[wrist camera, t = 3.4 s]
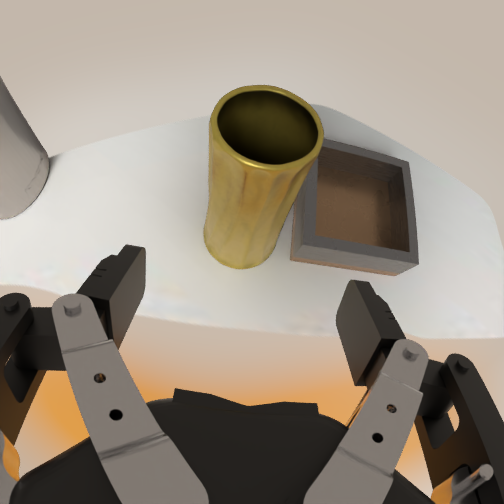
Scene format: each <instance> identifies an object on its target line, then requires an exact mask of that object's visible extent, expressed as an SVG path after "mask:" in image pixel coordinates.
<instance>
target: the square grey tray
mask: <svg viewBox="0 0 504 504" xmlns="http://www.w3.org/2000/svg"><path fill="white" fill-rule="evenodd" d="M290 260H291V261H298V262H304V263H311V264H317V265H324V266H331V267H337V268H344V269H351V270H357V271H364V272H370V273H377V274H384V275H390V276H396V275H398V274H400V273H402V272H404V271H406V270H409V269H411V268H413V267H415V266H417V265H419V259H418V241H417V228H416V217H415V207H414V198H413V190H412V182H411V175H410V168H409V162H407V161H404V160H401V159H397V158H394V157H391V156H387V155H384V154H381V153H377V152H374V151H370V150H366V149H363V148H359V147H355V146H351V145H348V144H344V143H340V142H336V141H331V140H327V139H323V143H322V147H321V149H320V152H319V154H318V157H317V158H316V160H315V162H314V163H313V165H312V167H311V169H310V171H309V172H308V174H307V176H306V178H305V180H304V182H303V184H302V186H301V188H300V190H299V192H298V194H297V196H296V198H295V203H294V217H293V230H292V243H291V255H290Z"/></svg>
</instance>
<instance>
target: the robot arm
mask: <svg viewBox="0 0 504 504" xmlns="http://www.w3.org/2000/svg"><path fill="white" fill-rule="evenodd" d="M48 171H49V158H48V155H47V152H46V151H45V149H44V148H43V146H42V145H41V143H40V142H39V140H38V139H37V137H36V136H35V134H34V132H33V131H32V129H31V127H30V126H29V124H28V123H27V121H26V119H25V118H24V116H23V114H22V113H21V111H20V110H19V108H18V106H17V104H16V103H15V101H14V99H13V98H12V96H11V95H10V93H9V91H8V89H7V87H6V86H5V84H4V82H3V80H2V78H1V77H0V219H1V220H3V219H9V218H12V217H15V216H16V215H18V214H20V213H21V212H23V211H24V210H25V209H26V208H27V207H29V206H30V205H31V204H32V202H33V201H34V200H35V199H36V198H37V196H38V195H39V193H40V192H41V190H42V188H43V186H44V184H45V182H46V179H47V175H48ZM145 275H146V251H145V248H144V247H139V246H133V245H125V246H124V247H123V249H122V250H121V251H120V253H119V254H118V255H117V256H116V255H110V256H108V257H107V258H105V259H103V260H101V262H100V263H99V264H98V265H97V267H96V269H94V271H93V272H92V273H91V275H90V276H89V277H88V278H87V280H86V281H85V282H84V283H83V285H82V286H81V287H80V289H79V290H78V291H77V293H76V294H68V295H64V296H62V297H60V298H58V299H57V300H56V301H55V302H54V303H53V306H52V307H45V308H44V307H31V303H30V300H29V298H28V297H27V296H26V295H24V294H21V293H10V294H7V295H4V296H3V297H1V298H0V504H504V422H503V420H502V418H501V416H500V414H499V412H498V410H497V408H496V406H495V404H494V402H493V400H492V398H491V396H490V394H489V392H488V390H487V388H486V386H485V384H484V382H483V380H482V379H481V377H480V375H479V373H478V371H477V369H476V368H475V366H474V364H473V363H472V362H471V361H470V360H469V359H468V358H466V357H465V356H463V355H460V354H451V355H449V356H448V357H447V359H446V360H445V362H444V363H441V362H438V361H434V360H430V359H428V354H427V352H426V351H425V349H424V348H423V347H422V346H421V345H419V344H418V343H416V342H414V341H412V340H408V339H406V337H405V335H404V333H403V332H402V330H401V328H400V326H399V324H398V322H397V320H395V317H394V315H393V313H391V312H392V311H391V310H390V308H389V306H388V304H387V303H386V302H385V301H384V300H383V299H382V298H381V297H380V296H379V295H376V293H375V292H374V290H373V288H372V286H371V284H370V283H369V282H365V281H358V280H350V281H349V283H348V285H347V287H346V290H345V293H344V295H343V298H342V301H341V303H340V306H339V308H338V311H337V315H336V326H337V329H338V333H339V336H340V339H341V342H342V345H343V348H344V352H345V355H346V358H347V361H348V364H349V368H350V371H351V375H352V378H353V381H354V385H355V386H367V391H366V393H365V394H364V396H363V397H362V399H361V401H360V403H359V404H358V406H357V407H356V409H355V411H354V412H353V414H352V416H351V417H350V419H349V420H348V422H347V424H346V425H343V424H342V423H340V422H339V421H337V420H335V419H333V418H330V417H328V416H325V415H322V414H319V412H318V406H317V403H297V402H279V403H271V404H263V405H256V406H246V405H242V404H239V403H236V402H233V401H230V400H227V399H224V398H221V397H218V396H215V395H212V394H207V393H200V392H194V391H188V390H182V389H176V388H175V391H174V396H173V398H167V399H159V400H155V401H150V402H148V403H145V401H144V399H143V398H142V396H141V394H140V392H139V390H138V388H137V387H136V385H135V383H134V381H133V379H132V377H131V375H130V373H129V371H128V369H127V367H126V365H125V363H124V361H123V360H122V357H121V355H120V353H119V351H118V350H119V347H120V345H121V343H122V341H123V339H124V336H125V334H126V332H127V330H128V328H129V325H130V323H131V321H132V319H133V317H134V315H135V313H136V310H137V308H138V306H139V304H140V302H141V300H142V298H143V295H144V291H145ZM10 356H11V357H10ZM9 357H10V358H9ZM8 359H9V360H8ZM7 361H8V362H7ZM6 362H7V363H6ZM5 364H6V365H5ZM47 370H56V371H67V374H68V377H69V380H70V383H71V386H72V389H73V392H74V395H75V398H76V401H77V404H78V407H79V410H80V412H81V415H82V418H83V420H84V423H85V425H86V428H87V430H88V433H89V435H90V436H89V437H88V438H86V439H85V440H83V441H82V442H80V443H78V444H76V445H75V446H73V447H71V448H69V449H68V450H66V451H64V452H63V453H61V454H59V455H58V456H56V457H54V458H53V459H51V460H49V461H47V462H45V463H44V464H42V465H40V466H38V467H36V468H35V469H33V470H31V471H29V472H28V473H26V474H25V475H24V476H22V477H21V478H19V466H20V458H19V454H18V452H17V450H16V449H15V447H14V445H15V442H16V439H17V437H18V434H19V432H20V429H21V427H22V424H23V422H24V420H25V417H26V415H27V413H28V410H29V408H30V406H31V403H32V401H33V399H34V397H35V395H36V392H37V390H38V388H39V386H40V384H41V382H42V380H43V377H44V375H45V373H46V371H47ZM453 405H454V406H455V409H456V411H457V414H458V416H459V426H458V428H457V430H456V431H454V429H453V426H452V423H451V421H450V418H449V416H448V413H447V412H448V411H449V410H450V408H451V407H452V406H453ZM413 422H414V423H415V426H416V430H417V433H418V436H419V440H420V443H421V446H422V450H423V453H424V457H425V461H426V464H427V468H428V472H429V476H430V480H431V483H432V488H433V492H432V495H431V499H430V498H429V497H428V496H426V495H425V494H424V493H423V492H422V491H420V490H419V489H418V488H417V487H416V486H414V485H413V484H412V483H411V482H410V481H408V480H407V479H406V478H405V477H404V476H402V475H401V474H400V473H399V472H398V471H396V470H395V467H396V465H397V462H398V460H399V458H400V456H401V453H402V451H403V448H404V445H405V443H406V441H407V438H408V436H409V433H410V431H411V428H412V425H413Z"/></svg>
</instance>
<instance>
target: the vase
mask: <svg viewBox="0 0 504 504" xmlns="http://www.w3.org/2000/svg"><path fill="white" fill-rule="evenodd" d="M323 138H324V131H323V127H322V123H321V121H320V118H319V116H318V114H317V113H316V111H315V110H314V109H313V108H312V107H311V106H310V105H309V104H308V103H307V102H306V101H304V100H303V99H301V98H300V97H298V96H296V95H295V94H293V93H291V92H289V91H287V90H284V89H282V88H278V87H275V86H269V85H253V86H244V87H240V88H237V89H235V90H232V91H231V92H229V93H227V94H226V95H224V96H223V97H222V98H221V99H220V100H219V102H218V103H217V105H216V106H215V108H214V110H213V112H212V115H211V118H210V122H209V178H208V184H209V205H208V211H207V216H206V221H205V226H204V242H205V245H206V247H207V249H208V251H209V252H210V254H211V255H212V256H213V257H214V258H215V259H216V260H217V261H218V262H220V263H221V264H223V265H225V266H228V267H231V268H235V269H248V268H252V267H255V266H257V265H259V264H261V263H263V262H264V261H265V260H266V259H267V258H268V257H269V256H270V255H271V253H272V252H273V250H274V248H275V245H276V240H277V238H278V236H279V234H280V231H281V229H282V227H283V224H284V222H285V219H286V217H287V215H288V213H289V211H290V209H291V207H292V204H293V202H294V200H295V198H296V196H297V194H298V192H299V190H300V188H301V186H302V184H303V182H304V180H305V178H306V176H307V174H308V172H309V171H310V169H311V167H312V165H313V163H314V162H315V160H316V158H317V157H318V154H319V152H320V149H321V147H322V143H323Z"/></svg>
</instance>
